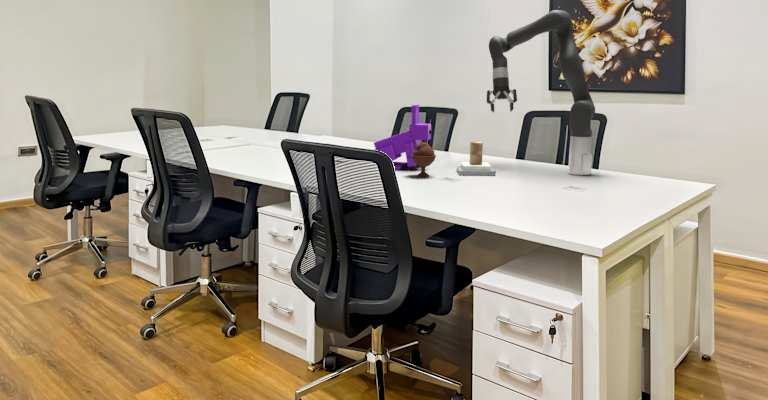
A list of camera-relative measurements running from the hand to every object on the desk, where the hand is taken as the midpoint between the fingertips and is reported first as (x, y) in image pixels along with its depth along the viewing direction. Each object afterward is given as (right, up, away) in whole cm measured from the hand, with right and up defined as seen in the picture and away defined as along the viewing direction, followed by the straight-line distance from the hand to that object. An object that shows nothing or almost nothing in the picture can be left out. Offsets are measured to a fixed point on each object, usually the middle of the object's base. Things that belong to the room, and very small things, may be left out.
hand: (502, 111), depth 305 cm
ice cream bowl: (-39, -32, -23) cm, 56 cm away
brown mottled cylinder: (-15, -26, -13) cm, 33 cm away
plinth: (-15, -30, -13) cm, 36 cm away
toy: (-48, -27, +1) cm, 55 cm away
